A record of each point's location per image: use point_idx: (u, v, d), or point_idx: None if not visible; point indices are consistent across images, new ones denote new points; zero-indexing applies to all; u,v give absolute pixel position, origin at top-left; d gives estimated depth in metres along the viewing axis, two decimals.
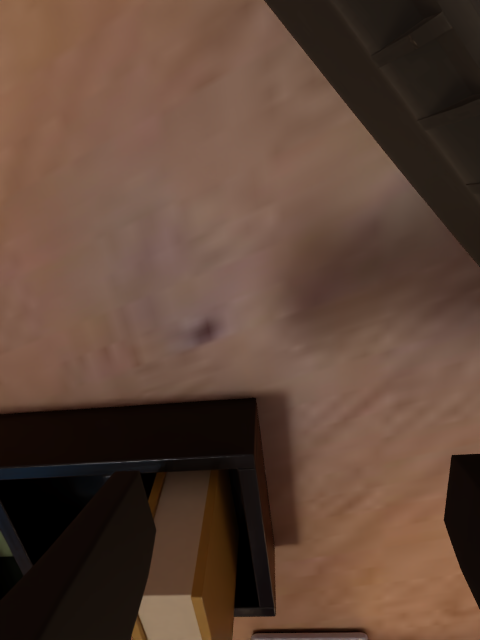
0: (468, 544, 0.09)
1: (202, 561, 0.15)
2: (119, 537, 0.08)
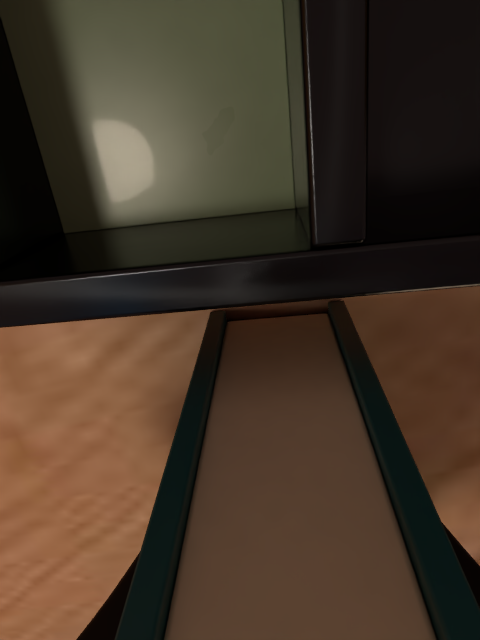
0: None
1: None
2: None
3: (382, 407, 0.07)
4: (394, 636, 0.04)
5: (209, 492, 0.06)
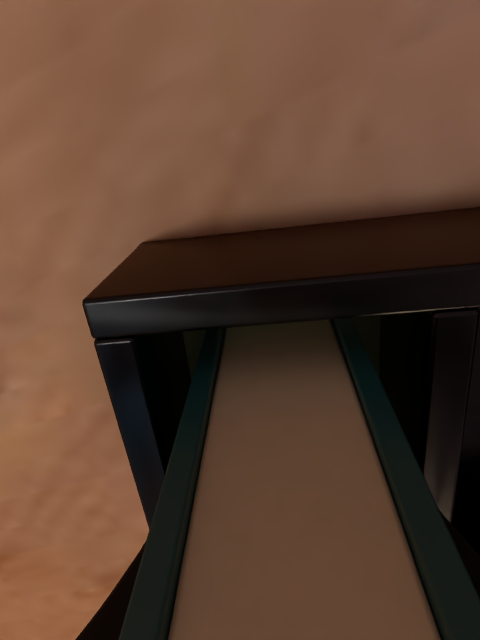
0: None
1: None
2: None
3: (383, 405, 0.07)
4: (398, 631, 0.04)
5: (212, 490, 0.06)
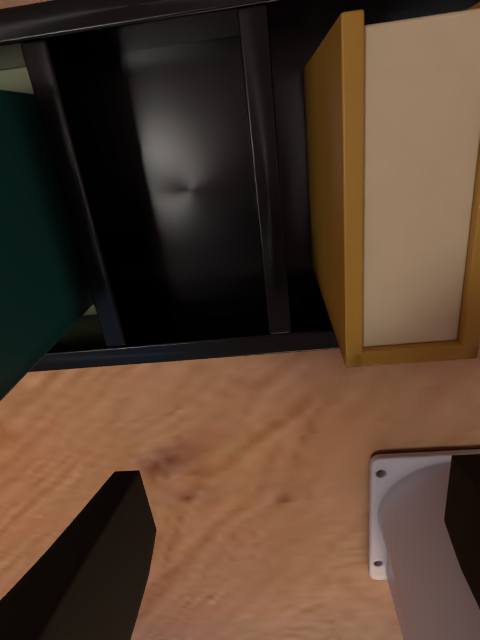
0: (468, 544, 0.09)
1: None
2: (119, 537, 0.08)
3: None
4: None
5: None
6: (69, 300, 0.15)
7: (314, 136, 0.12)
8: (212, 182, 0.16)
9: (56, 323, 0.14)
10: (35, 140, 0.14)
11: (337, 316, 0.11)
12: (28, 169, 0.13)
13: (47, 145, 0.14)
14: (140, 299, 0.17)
